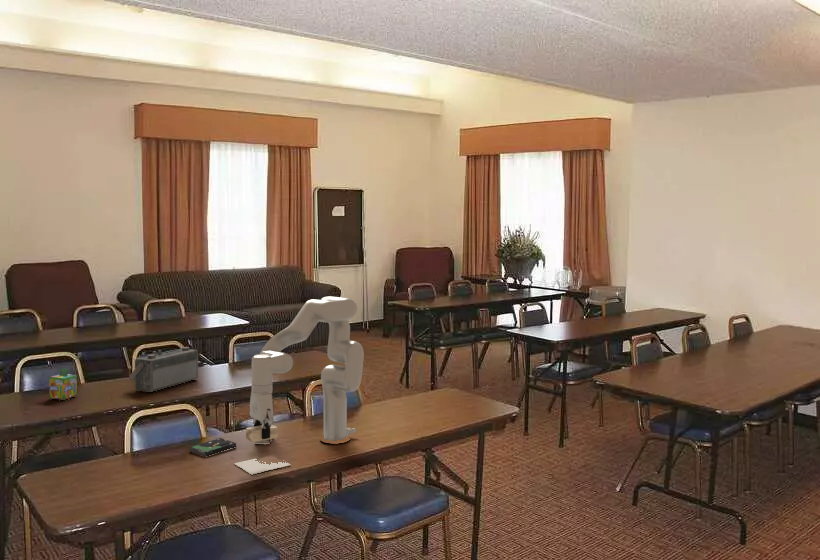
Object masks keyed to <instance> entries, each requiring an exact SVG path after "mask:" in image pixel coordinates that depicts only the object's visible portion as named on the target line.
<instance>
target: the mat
mask: <svg viewBox="0 0 820 560" xmlns="http://www.w3.org/2000/svg"><path fill="white" fill-rule="evenodd" d="M255 460H257V459H256V458H253V459H249V460H244V461H238V462H234V464H235V465H237V466H238V467H240V468H242V469H243V470H245V471H246V472H248V473H249V474H248V473H247V474H248V475H250V474H251V475H253V474H257V473H261V472H264V471H268V470H273V469H277V468H281V467H285V466H289V465H291V463H289V462H287V461H285V463H284V462H283V463H282V462H278V464H277V463H272V462H271V464H270V465H269V464H266V462H264V463H265V464H263V463H262V464H261V463H259V462H260V461H259V462H258V461H255ZM262 462H263V461H262ZM286 462H287V463H286ZM234 464H233V465H234ZM235 465H234V466H235ZM237 466H236V467H237ZM291 466H292V465H291ZM238 467H237V468H238ZM240 468H239V469H240ZM242 469H241V470H242ZM243 470H242V471H243ZM245 471H244V472H245ZM273 471H274V470H273ZM246 472H245V473H246ZM261 474H262V473H261ZM251 475H250V476H251ZM257 475H258V474H257ZM253 476H254V475H253Z"/></svg>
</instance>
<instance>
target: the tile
mask: <svg viewBox="0 0 820 560" xmlns="http://www.w3.org/2000/svg"><path fill="white" fill-rule="evenodd" d="M262 428H263V426H262V425H260V426H255V427H254V426H250V427H245V440H247V441H249V442H251V443H255V442H258V441H263V440H268V439H273V438H274V439H277V438H278V426H277V425H275V424H274V425H272V424H271V428H270V438H268V439H262ZM274 439H273V440H274Z"/></svg>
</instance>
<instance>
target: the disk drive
mask: <svg viewBox="0 0 820 560" xmlns="http://www.w3.org/2000/svg"><path fill="white" fill-rule="evenodd" d="M234 447H236V448H237V443H236V442H234V441H231V440H228V439H227V440H225V438H221V437H219V438H215V439H212V440H209V441H205V442H202V443H199V444H194V445H192V446H189V452H190V453H191V452H192V453H191V454H194V453H196V454H195V455H197V454H199V455H198V456H200V455H202V456H201V457H203V456H205V457H204V458H207V457H206V456H209V455H212V454H215V453H218V452H221V451H224V450H227V449H230V448H234ZM215 455H216V454H215ZM212 456H213V455H212ZM209 457H210V456H209Z"/></svg>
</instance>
